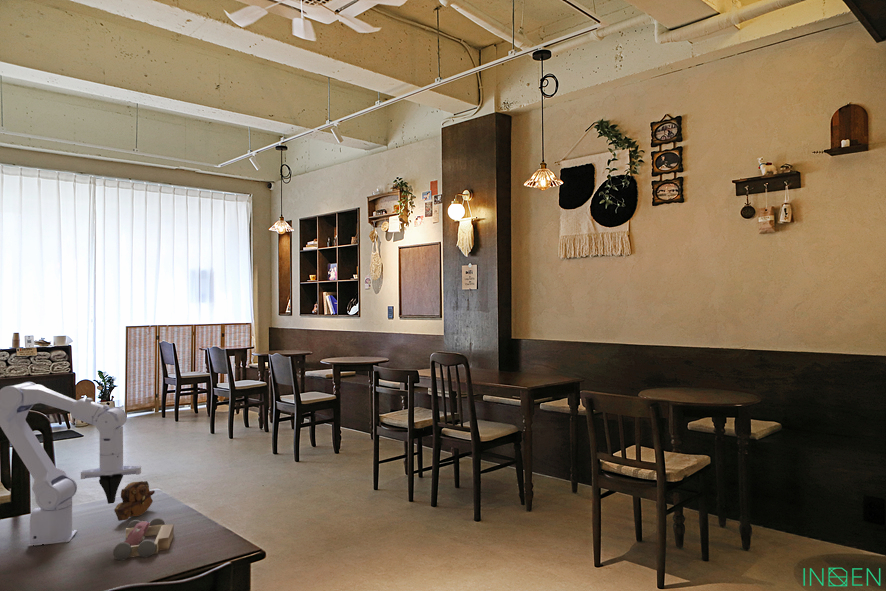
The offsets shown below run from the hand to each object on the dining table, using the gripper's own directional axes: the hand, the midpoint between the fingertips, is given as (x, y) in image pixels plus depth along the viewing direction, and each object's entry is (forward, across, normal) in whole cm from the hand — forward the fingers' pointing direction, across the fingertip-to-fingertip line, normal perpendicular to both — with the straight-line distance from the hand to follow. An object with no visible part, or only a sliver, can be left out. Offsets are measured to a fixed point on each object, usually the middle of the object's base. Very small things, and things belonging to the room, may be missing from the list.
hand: (111, 502), depth 166 cm
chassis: (+9, +10, -9) cm, 16 cm away
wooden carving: (+10, +4, +16) cm, 19 cm away
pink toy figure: (+10, +8, -8) cm, 15 cm away
